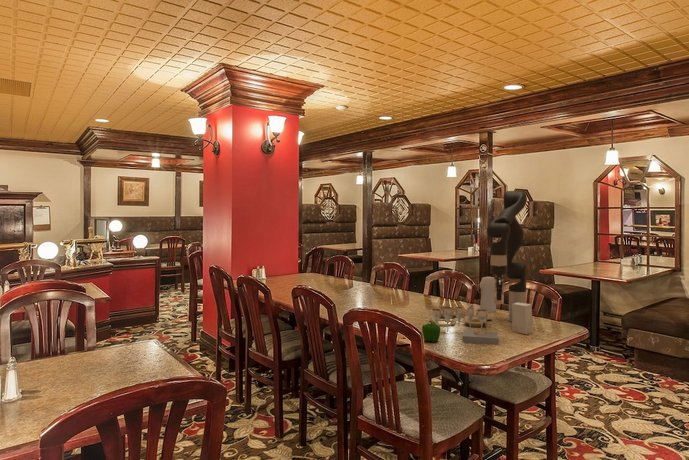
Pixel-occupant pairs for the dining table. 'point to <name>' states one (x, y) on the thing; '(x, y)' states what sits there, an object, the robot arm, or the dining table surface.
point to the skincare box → (522, 318)
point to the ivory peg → (496, 295)
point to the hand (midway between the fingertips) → (498, 299)
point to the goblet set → (460, 315)
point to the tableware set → (474, 322)
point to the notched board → (480, 337)
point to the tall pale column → (487, 294)
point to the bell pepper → (431, 332)
